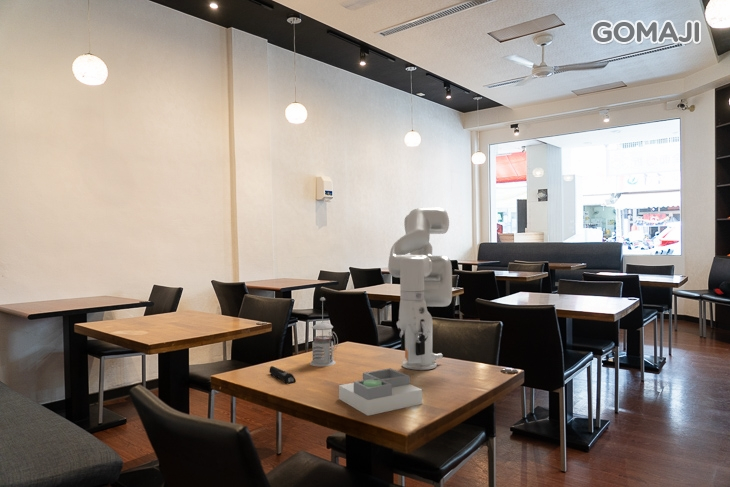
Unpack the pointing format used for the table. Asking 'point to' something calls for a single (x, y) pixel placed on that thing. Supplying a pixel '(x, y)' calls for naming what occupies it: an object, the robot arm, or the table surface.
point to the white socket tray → (381, 392)
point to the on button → (372, 383)
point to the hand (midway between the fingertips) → (412, 351)
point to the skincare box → (411, 346)
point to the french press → (323, 345)
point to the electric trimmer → (282, 375)
